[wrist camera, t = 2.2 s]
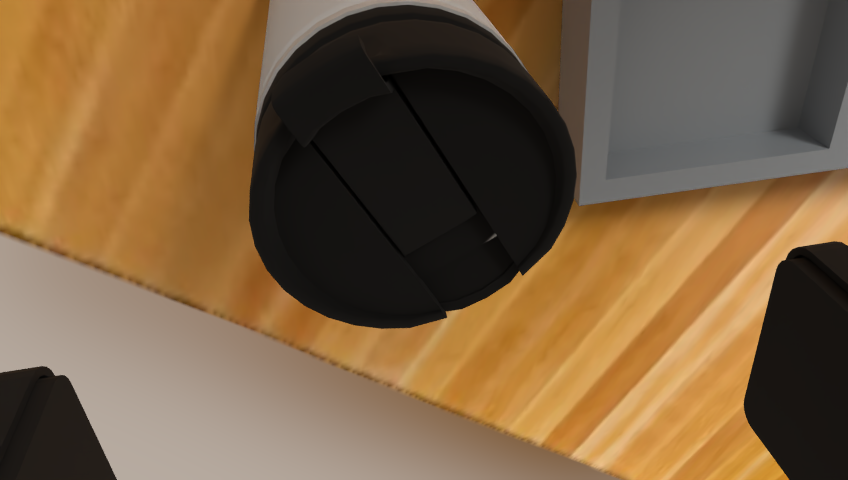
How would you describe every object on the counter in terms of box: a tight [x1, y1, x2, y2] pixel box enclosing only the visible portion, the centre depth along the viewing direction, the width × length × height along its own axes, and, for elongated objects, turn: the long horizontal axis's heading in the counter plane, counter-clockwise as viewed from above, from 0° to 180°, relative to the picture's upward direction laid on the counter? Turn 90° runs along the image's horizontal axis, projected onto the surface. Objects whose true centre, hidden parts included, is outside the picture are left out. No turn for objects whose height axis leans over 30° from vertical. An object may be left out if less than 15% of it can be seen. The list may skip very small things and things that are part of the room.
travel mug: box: [249, 0, 577, 329], centre depth 21 cm, size 6×7×20 cm
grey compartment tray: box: [558, 0, 848, 206], centre depth 32 cm, size 13×26×4 cm, turn 94°
